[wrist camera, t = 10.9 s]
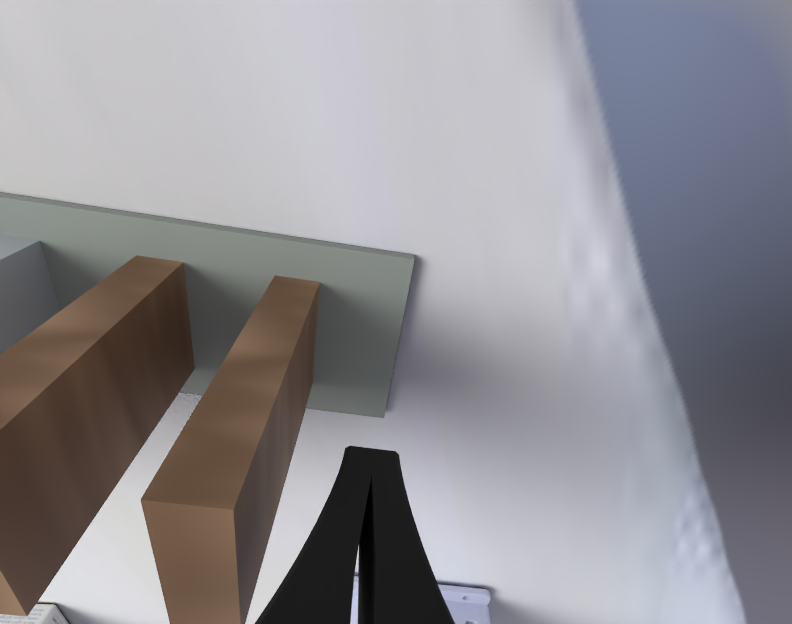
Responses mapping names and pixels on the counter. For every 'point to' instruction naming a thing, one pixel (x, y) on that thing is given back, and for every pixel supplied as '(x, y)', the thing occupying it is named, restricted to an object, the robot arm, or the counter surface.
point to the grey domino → (23, 289)
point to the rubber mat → (237, 287)
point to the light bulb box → (37, 616)
